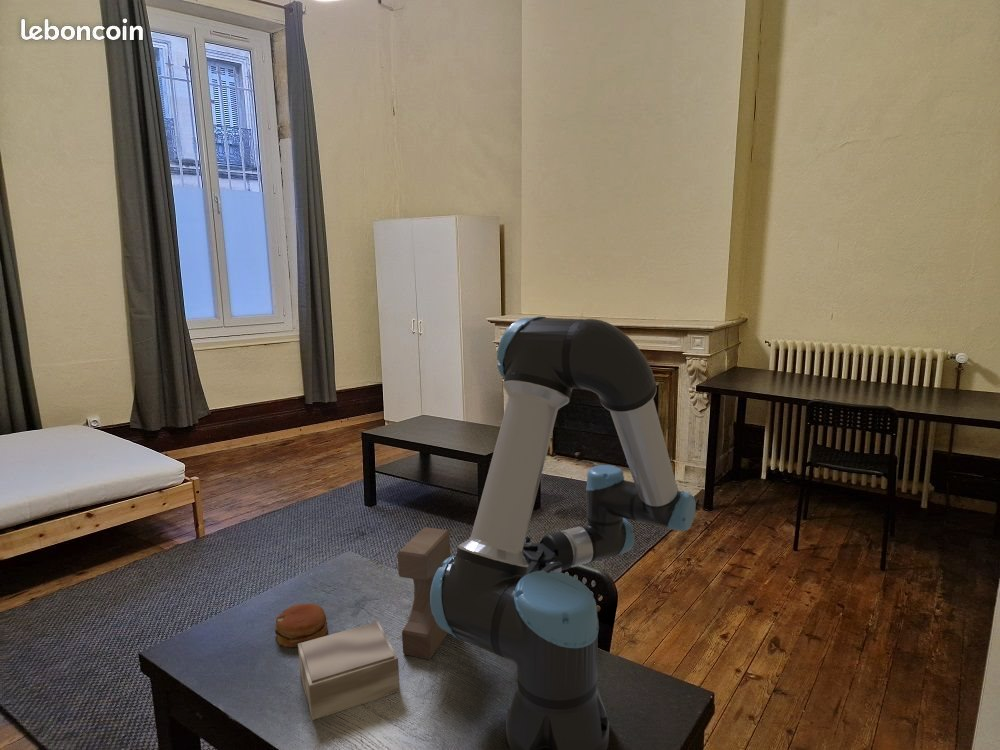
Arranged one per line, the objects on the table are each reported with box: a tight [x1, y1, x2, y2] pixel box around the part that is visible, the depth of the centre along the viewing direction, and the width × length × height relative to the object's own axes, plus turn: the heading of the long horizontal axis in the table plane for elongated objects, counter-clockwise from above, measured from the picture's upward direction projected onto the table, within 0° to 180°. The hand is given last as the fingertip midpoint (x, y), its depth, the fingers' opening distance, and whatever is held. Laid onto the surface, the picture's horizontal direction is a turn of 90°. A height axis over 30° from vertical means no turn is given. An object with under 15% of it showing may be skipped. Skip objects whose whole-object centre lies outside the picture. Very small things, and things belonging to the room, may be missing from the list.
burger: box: [274, 603, 328, 648], centre depth 117 cm, size 10×9×5 cm
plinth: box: [297, 621, 401, 721], centre depth 103 cm, size 12×14×6 cm
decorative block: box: [396, 526, 451, 660], centre depth 113 cm, size 11×6×20 cm, turn 160°
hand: (469, 574), depth 117 cm, fingers open, 13 cm apart
